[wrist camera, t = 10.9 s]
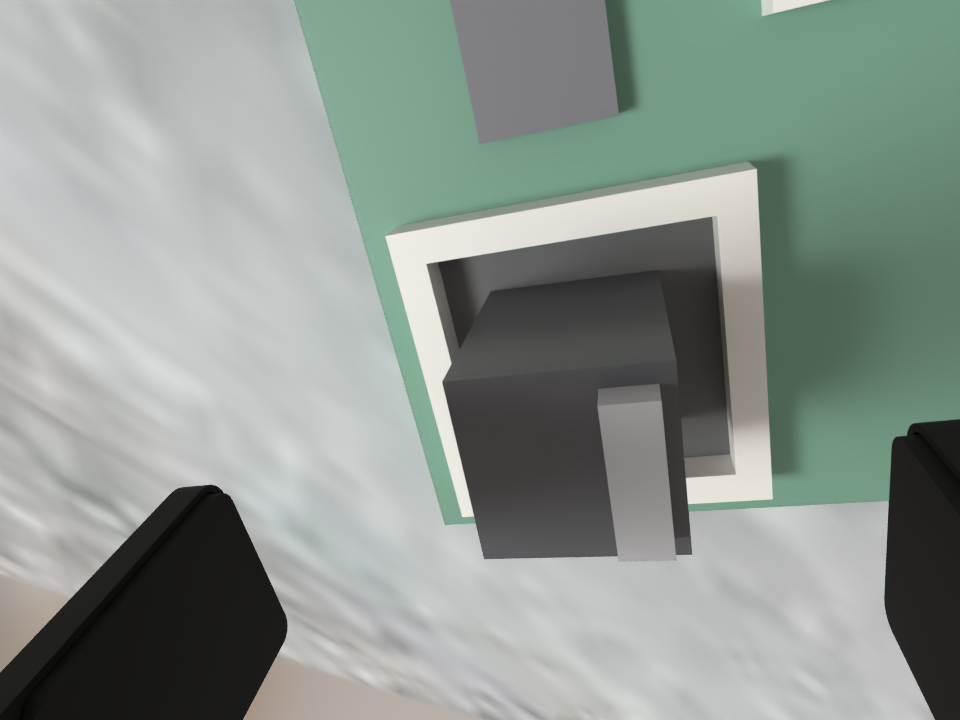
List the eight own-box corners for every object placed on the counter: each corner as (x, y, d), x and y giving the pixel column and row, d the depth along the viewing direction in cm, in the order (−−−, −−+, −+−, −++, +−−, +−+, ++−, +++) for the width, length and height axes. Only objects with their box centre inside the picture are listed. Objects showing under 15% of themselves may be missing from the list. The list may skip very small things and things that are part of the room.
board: (261, -196, 14) (201, -239, 12) (1381, -631, 9) (1593, -821, 7) (453, 500, 20) (436, 547, 19) (1149, 455, 16) (1223, 511, 14)
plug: (490, 291, 16) (433, 397, 11) (658, 269, 15) (678, 376, 10) (518, 431, 17) (478, 580, 12) (671, 420, 16) (695, 578, 11)
